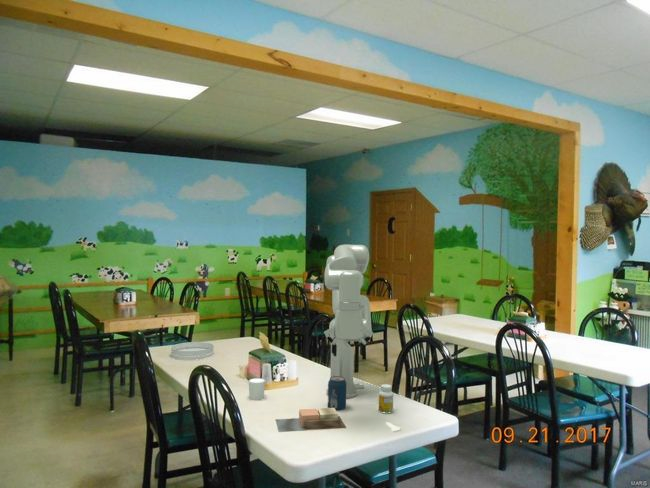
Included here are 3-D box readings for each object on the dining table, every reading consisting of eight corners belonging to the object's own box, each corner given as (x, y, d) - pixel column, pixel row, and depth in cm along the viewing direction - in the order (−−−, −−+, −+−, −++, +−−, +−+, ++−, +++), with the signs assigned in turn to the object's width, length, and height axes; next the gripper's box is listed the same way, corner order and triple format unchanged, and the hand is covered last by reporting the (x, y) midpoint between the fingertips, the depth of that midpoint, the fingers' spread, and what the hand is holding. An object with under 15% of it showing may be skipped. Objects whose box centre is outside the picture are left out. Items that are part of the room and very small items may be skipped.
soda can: (343, 406, 191) (344, 375, 191) (347, 412, 184) (348, 380, 184) (326, 407, 190) (326, 375, 189) (329, 413, 183) (330, 381, 183)
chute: (339, 418, 178) (339, 409, 178) (346, 430, 167) (346, 420, 167) (275, 422, 173) (275, 412, 173) (278, 434, 163) (278, 424, 163)
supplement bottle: (377, 408, 189) (377, 383, 189) (391, 408, 189) (391, 383, 189) (379, 414, 184) (380, 388, 183) (394, 413, 184) (394, 387, 184)
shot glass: (262, 401, 195) (262, 383, 195) (245, 399, 196) (245, 382, 196) (267, 395, 202) (267, 378, 201) (251, 394, 203) (251, 377, 203)
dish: (201, 349, 280) (201, 340, 280) (221, 356, 264) (221, 347, 264) (163, 354, 265) (163, 345, 265) (182, 363, 249) (183, 353, 249)
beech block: (334, 419, 175) (334, 407, 175) (337, 425, 169) (338, 413, 169) (317, 419, 174) (317, 408, 174) (320, 426, 168) (320, 414, 168)
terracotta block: (316, 419, 174) (316, 408, 174) (319, 426, 168) (319, 414, 168) (299, 420, 172) (299, 409, 172) (301, 427, 167) (301, 415, 167)
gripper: (371, 305, 179) (370, 352, 179) (323, 305, 177) (322, 353, 177) (375, 308, 171) (374, 357, 171) (326, 308, 169) (325, 358, 169)
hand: (348, 355), depth 174 cm, fingers open, 9 cm apart
